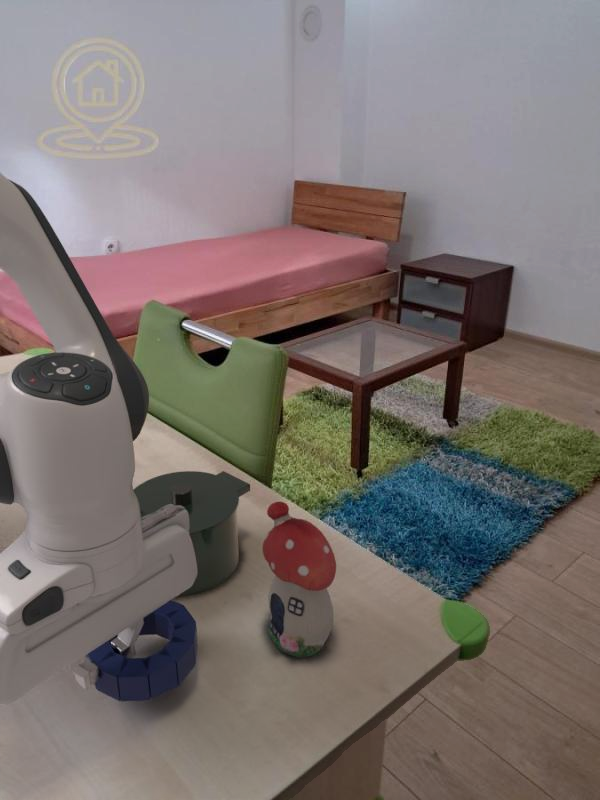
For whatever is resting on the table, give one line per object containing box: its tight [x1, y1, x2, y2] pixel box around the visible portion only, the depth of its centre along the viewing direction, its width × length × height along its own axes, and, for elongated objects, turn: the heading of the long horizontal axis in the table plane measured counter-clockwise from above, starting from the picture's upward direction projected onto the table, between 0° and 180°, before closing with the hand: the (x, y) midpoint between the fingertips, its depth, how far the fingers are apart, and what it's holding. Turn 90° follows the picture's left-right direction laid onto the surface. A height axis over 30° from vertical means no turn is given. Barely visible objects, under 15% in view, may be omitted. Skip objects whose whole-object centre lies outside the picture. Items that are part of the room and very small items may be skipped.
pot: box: [133, 470, 251, 596], centre depth 75 cm, size 22×14×13 cm, turn 139°
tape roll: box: [85, 599, 198, 702], centre depth 61 cm, size 10×10×3 cm
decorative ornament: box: [262, 501, 337, 659], centre depth 66 cm, size 9×7×15 cm
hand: (106, 668), depth 58 cm, fingers closed on tape roll, 2 cm apart
